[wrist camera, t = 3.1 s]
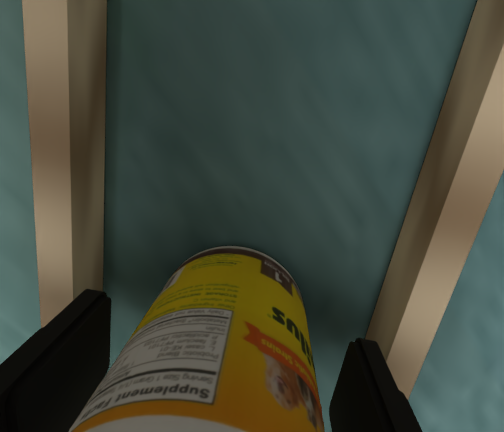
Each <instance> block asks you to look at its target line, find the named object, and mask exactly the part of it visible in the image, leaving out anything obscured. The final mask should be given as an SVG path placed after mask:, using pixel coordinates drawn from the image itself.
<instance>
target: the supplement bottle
mask: <svg viewBox="0 0 504 432" xmlns="http://www.w3.org/2000/svg"><path fill="white" fill-rule="evenodd" d="M69 432H325V431H324V422H323V418H322V407H321V404H320V399H319V394H318V388H317V382H316V375H315V368H314V363H313V356H312V351H311V345H310V338H309V332H308V326H307V320H306V313H305V308H304V304H303V299H302V296H301V293H300V290H299V288H298V286H297V284H296V282H295V281H294V279H293V278H292V276H291V275H290V274H289V273H288V271H287V270H286V269H285V268H284V267H283V266H282V265H280V264H279V263H278V262H277V261H275V260H274V259H272V258H271V257H269V256H268V255H266V254H264V253H261V252H259V251H256V250H253V249H250V248H245V247H239V246H221V247H215V248H211V249H207V250H204V251H202V252H199V253H197V254H196V255H194V256H192V257H190V258H189V259H187V260H186V261H185V262H184V263H183V264H181V265H180V266H179V267H178V269H177V270H176V271H175V272H174V273H173V275H172V276H171V277H170V279H169V280H168V282H167V283H166V285H165V286H164V288H163V289H162V291H161V292H160V294H159V295H158V297H157V298H156V300H155V301H154V302H153V304H152V306H151V307H150V309H149V310H148V312H147V313H146V315H145V316H144V318H143V319H142V321H141V322H140V324H139V325H138V327H137V328H136V330H135V331H134V333H133V334H132V336H131V337H130V339H129V340H128V342H127V343H126V345H125V346H124V348H123V350H122V351H121V353H120V355H119V356H118V358H117V359H116V361H115V362H114V364H113V365H112V367H111V368H110V370H109V371H108V373H107V374H106V376H105V377H104V379H103V380H102V382H101V384H100V385H99V387H98V388H97V390H96V391H95V393H94V394H93V396H92V397H91V399H90V400H89V402H88V403H87V405H86V406H85V408H84V409H83V410H82V412H81V413H80V415H79V416H78V418H77V420H76V421H75V423H74V424H73V426H72V427H71V429H70V431H69Z"/></svg>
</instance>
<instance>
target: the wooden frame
mask: <svg viewBox="0 0 504 432" xmlns="http://www.w3.org/2000/svg"><path fill="white" fill-rule="evenodd" d="M22 7H23V24H24V41H25V58H26V75H27V93H28V110H29V127H30V144H31V161H32V178H33V195H34V212H35V229H36V246H37V264H38V281H39V298H40V315H41V328H42V327H45V326H46V325H47V324H48V323H49V322H50V321H51V320H52V319H53V318H54V317H55V316H57V315H58V314H59V313H60V312H61V311H62V310H63V309H64V308H65V307H66V306H68V305H69V304H70V303H71V302H72V301H73V300H74V299H75V298H76V297H77V296H78V295H80V294H81V293H82V292H83V291H84V290H86V289H92V290H97V291H103V241H104V172H105V102H106V33H107V0H22ZM503 170H504V0H478V1H477V4H476V7H475V10H474V13H473V16H472V19H471V22H470V25H469V28H468V31H467V34H466V37H465V40H464V43H463V46H462V49H461V52H460V55H459V58H458V61H457V64H456V67H455V70H454V73H453V76H452V79H451V82H450V85H449V88H448V91H447V94H446V97H445V100H444V103H443V106H442V109H441V112H440V115H439V118H438V121H437V124H436V127H435V130H434V133H433V136H432V139H431V142H430V145H429V148H428V151H427V154H426V157H425V160H424V163H423V166H422V169H421V172H420V175H419V178H418V181H417V184H416V187H415V190H414V193H413V196H412V199H411V202H410V205H409V208H408V211H407V214H406V217H405V220H404V223H403V226H402V229H401V232H400V235H399V238H398V241H397V244H396V247H395V250H394V253H393V256H392V259H391V262H390V265H389V268H388V271H387V274H386V277H385V280H384V283H383V286H382V289H381V292H380V295H379V298H378V301H377V304H376V307H375V310H374V313H373V316H372V319H371V322H370V325H369V328H368V331H367V334H366V337H365V339H367V340H373V341H376V342H377V343H378V345H379V347H380V350H381V352H382V354H383V356H384V358H385V361H386V363H387V365H388V367H389V369H390V372H391V374H392V376H393V378H394V381H395V383H396V385H397V387H398V389H399V391H401V392H403V393H404V395H405V396H406V398H407V400H408V398H409V396H410V394H411V391H412V389H413V386H414V384H415V382H416V379H417V377H418V374H419V372H420V369H421V367H422V365H423V362H424V360H425V357H426V355H427V353H428V350H429V348H430V345H431V343H432V341H433V338H434V336H435V333H436V331H437V329H438V326H439V324H440V321H441V319H442V317H443V314H444V312H445V309H446V307H447V305H448V302H449V300H450V297H451V295H452V293H453V290H454V288H455V285H456V283H457V281H458V278H459V276H460V273H461V271H462V268H463V266H464V264H465V261H466V259H467V256H468V254H469V252H470V249H471V247H472V244H473V242H474V240H475V237H476V235H477V232H478V230H479V228H480V225H481V223H482V220H483V218H484V216H485V213H486V211H487V208H488V206H489V204H490V201H491V199H492V196H493V194H494V192H495V189H496V187H497V184H498V182H499V180H500V177H501V175H502V172H503ZM100 384H101V383H100ZM100 384H99V385H100ZM98 387H99V386H98ZM98 387H97V388H98ZM96 390H97V389H96ZM96 390H95V391H96ZM94 393H95V392H94ZM94 393H93V394H94ZM92 396H93V395H92ZM92 396H91V397H92ZM90 399H91V398H90ZM90 399H89V400H90ZM88 402H89V401H88ZM86 405H87V404H86ZM84 408H85V407H84ZM76 420H77V419H76ZM74 423H75V422H74ZM72 426H73V425H72Z"/></svg>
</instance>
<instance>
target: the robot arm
mask: <svg viewBox="0 0 504 432" xmlns="http://www.w3.org/2000/svg"><path fill="white" fill-rule="evenodd" d="M110 322H111V299H110V298H109V297H107V295H106V293H105V292H103V291H97V290H92V289H86V290H84V291H83V292H82V293H81V294H80V295H78V296H77V297H76V298H75V299H74V300H73V301H72V302H71V303H70V304H69V305H68V306H66V307H65V308H64V309H63V310H62V311H61V312H60V313H59V314H58V315H57V316H55V317H54V318H53V319H52V320H51V321H50V322H49V323H48V324H47V325H46V326H45V327H42V328H41V329H39V330H38V331H37V332H36V333H35V334H34V335H33V336H31V337H30V338H29V339H28V340H27V341H26V342H25V343H24V344H23V345H21V346H20V347H19V348H18V349H17V350H16V351H15V352H14V353H13V354H12V355H10V356H9V357H8V358H7V359H6V360H5V361H4V362H3V363H2V364H1V365H0V432H69V430H70V429H71V427H72V425H73V424H74V422H75V421H76V419H77V418H78V416H79V415H80V413H81V412H82V410H83V409H84V407H85V406H86V404H87V403H88V401H89V399H90V398H91V396H92V395H93V393H94V392H95V390H96V389H97V387H98V386H99V384H100V383H101V381H102V380H103V378H104V377H105V375H106V373H107V371H108V368H109V362H110ZM329 416H330V422H331V428H332V432H422V430H421V428H420V425H419V423H418V421H417V419H416V417H415V415H414V413H413V410H412V408H411V406H410V404H409V402H408V400H407V398H406V396H405V395H404V393H403V392H401V391H399V389H398V387H397V385H396V383H395V381H394V378H393V376H392V374H391V372H390V369H389V367H388V365H387V363H386V361H385V358H384V356H383V354H382V352H381V350H380V347H379V345H378V343H377V342H376V341H373V340H367V339H362V338H357V339H356V340H355V342H350V343H349V346H348V349H347V352H346V355H345V358H344V361H343V365H342V368H341V371H340V374H339V377H338V380H337V384H336V387H335V390H334V393H333V396H332V399H331V403H330V408H329Z"/></svg>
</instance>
